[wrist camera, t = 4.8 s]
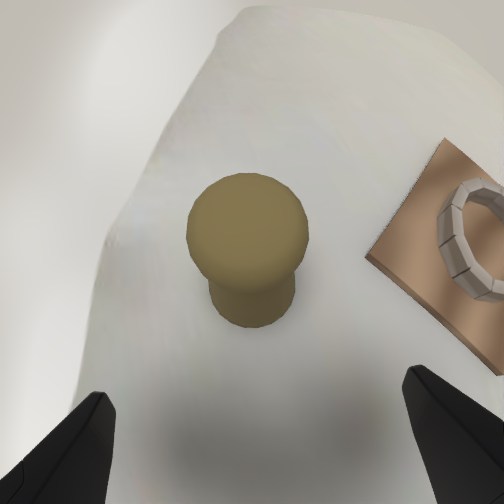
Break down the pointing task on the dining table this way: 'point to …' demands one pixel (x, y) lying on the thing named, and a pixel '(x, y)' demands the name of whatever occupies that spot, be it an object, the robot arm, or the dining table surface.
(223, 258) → the cork
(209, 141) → the dining table surface
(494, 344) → the socket holder
